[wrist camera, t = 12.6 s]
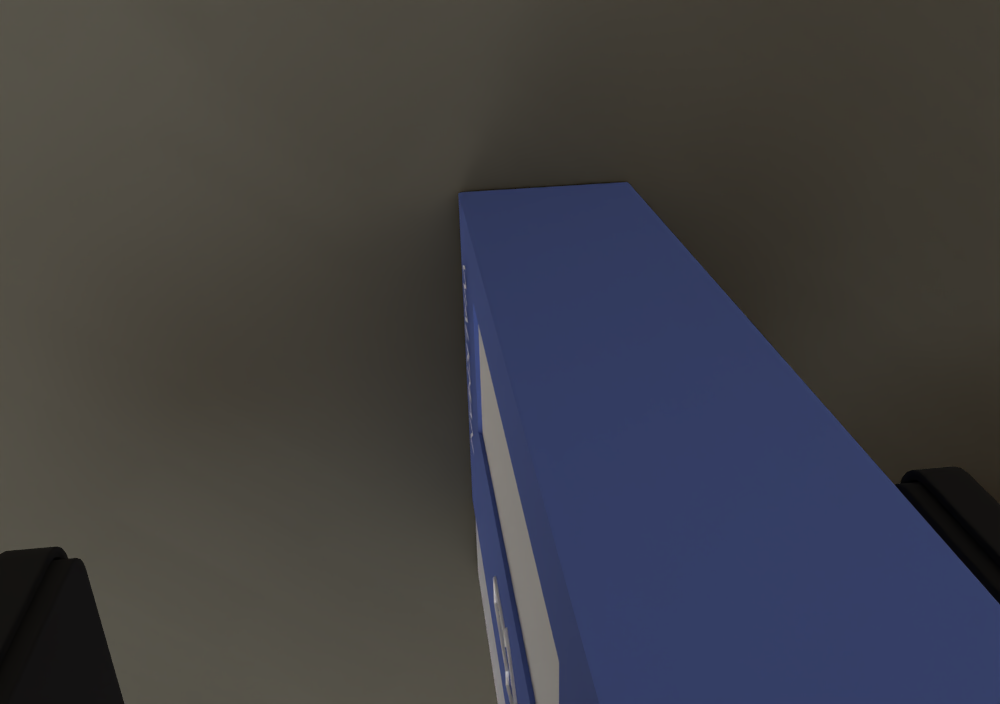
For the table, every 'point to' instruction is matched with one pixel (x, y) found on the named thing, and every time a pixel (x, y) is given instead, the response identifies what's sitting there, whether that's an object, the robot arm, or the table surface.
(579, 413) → the walkman
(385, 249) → the table surface
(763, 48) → the table surface
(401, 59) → the table surface
